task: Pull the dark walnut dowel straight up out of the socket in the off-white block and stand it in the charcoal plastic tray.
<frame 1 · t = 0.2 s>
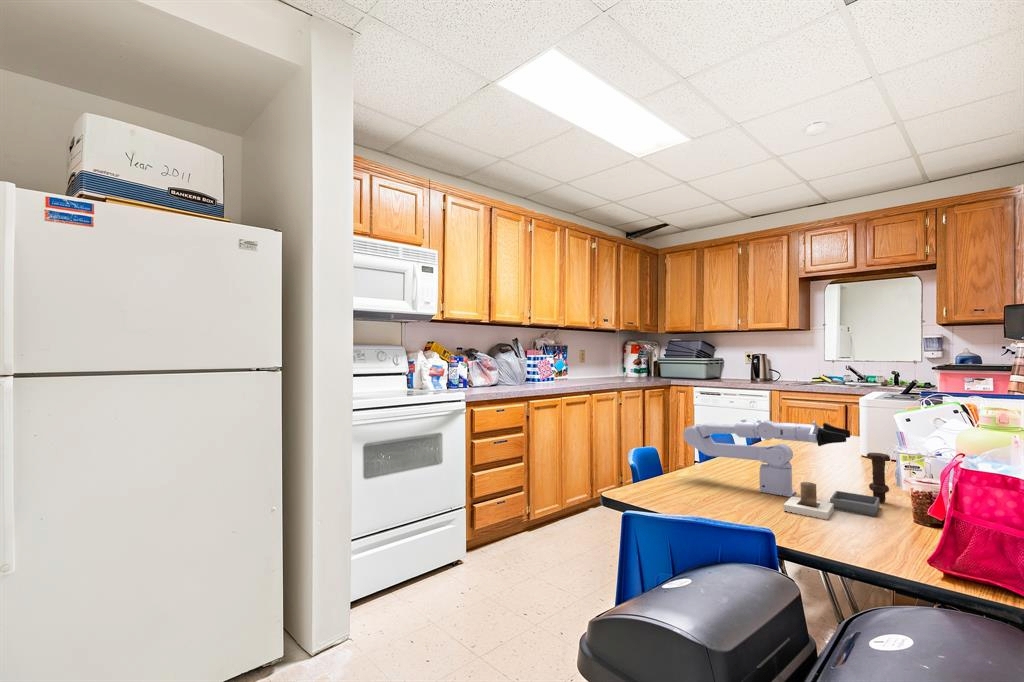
hand: (848, 436, 149), 21 cm above the table, tool horizontal, fingers open, 7 cm apart
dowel: (808, 497, 143), in the socket block
socket block: (808, 510, 143), on the table
tray: (855, 508, 145), on the table
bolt: (879, 502, 151), on the table
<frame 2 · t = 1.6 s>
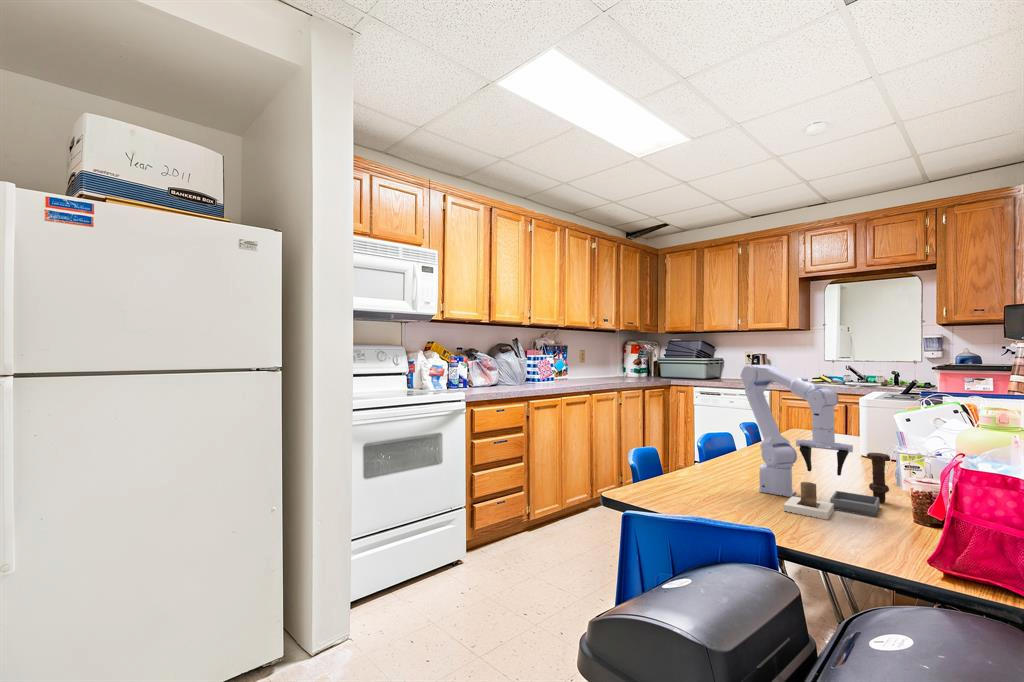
hand: (824, 472, 147), 10 cm above the table, tool pointing down, fingers open, 7 cm apart
nothing on the table moved.
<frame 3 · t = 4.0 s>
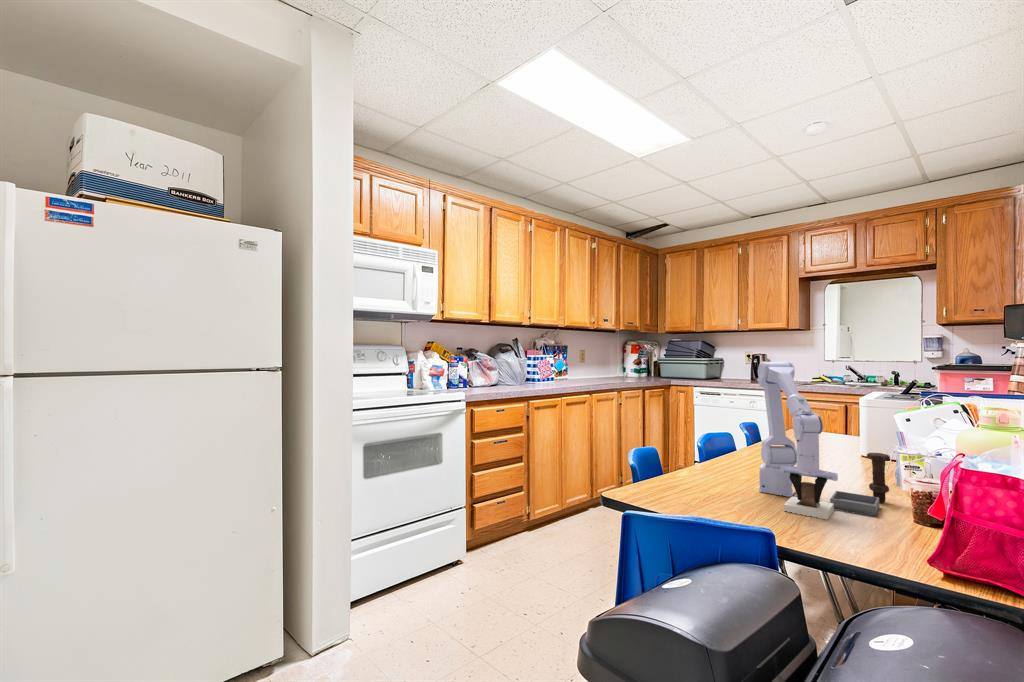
hand: (808, 500, 143), 3 cm above the table, tool pointing down, fingers closed on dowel, 4 cm apart
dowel: (808, 497, 143), in the socket block, touching gripper
everything else where it was.
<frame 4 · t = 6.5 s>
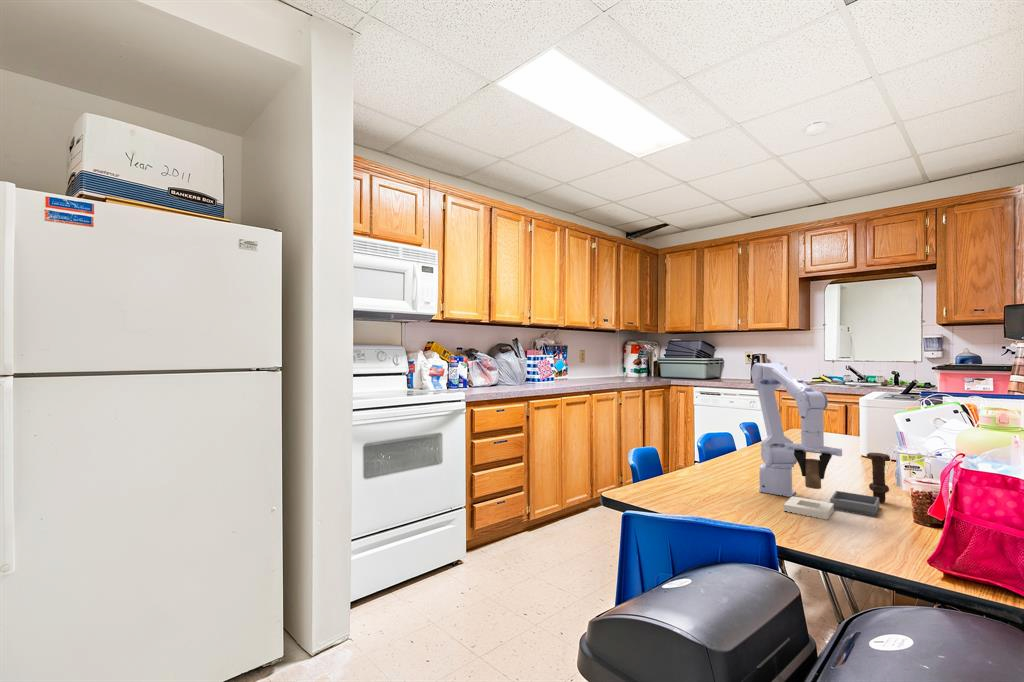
hand: (813, 477, 144), 10 cm above the table, tool pointing down, fingers closed on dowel, 4 cm apart
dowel: (812, 473, 144), point 11 cm above the table, touching gripper
everything else where it was.
when the fingers open (5 cm above the table, at t = 9.3 s): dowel stays where it is, resting on tray.
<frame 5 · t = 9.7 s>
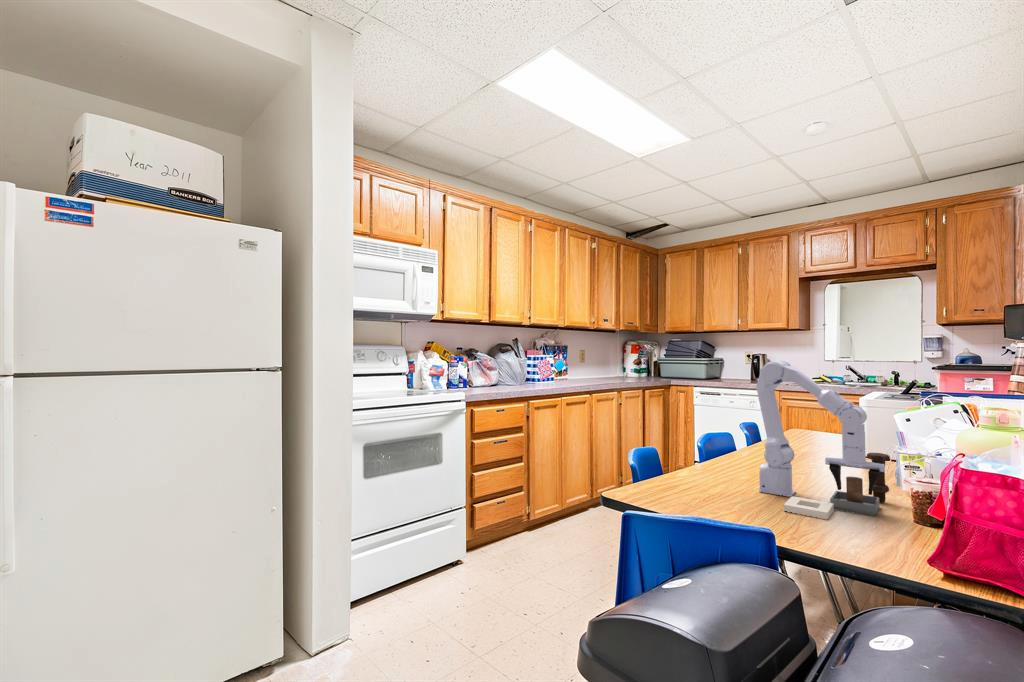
hand: (854, 491, 146), 5 cm above the table, tool pointing down, fingers open, 7 cm apart
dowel: (854, 491, 145), in the tray, point 5 cm above the table
everything else where it was.
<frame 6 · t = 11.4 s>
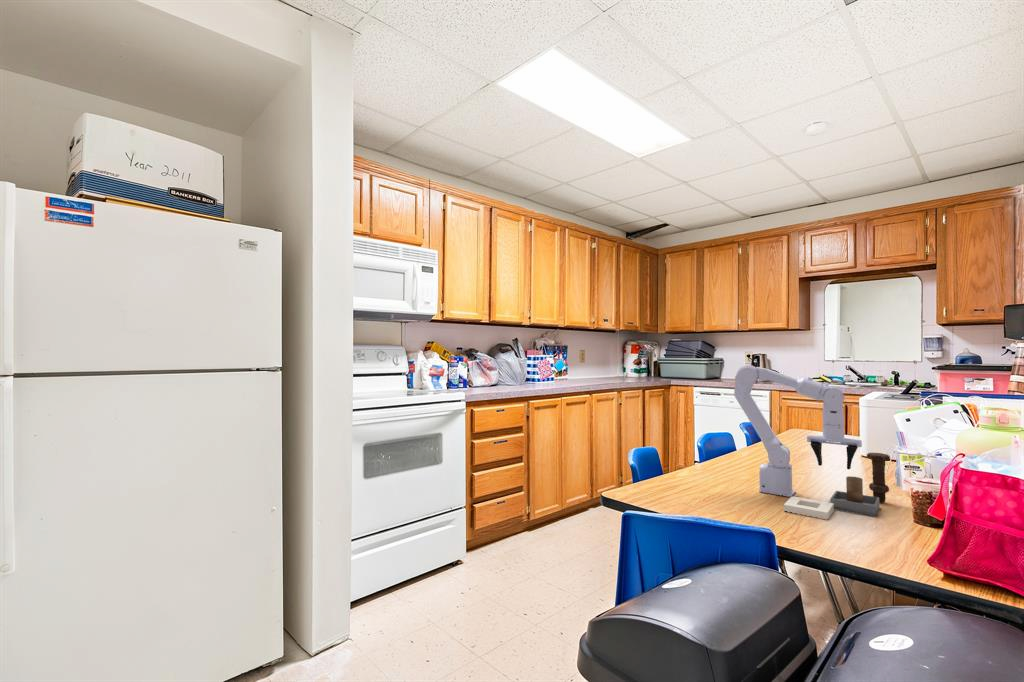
hand: (834, 466, 154), 10 cm above the table, tool pointing down, fingers open, 7 cm apart
nothing on the table moved.
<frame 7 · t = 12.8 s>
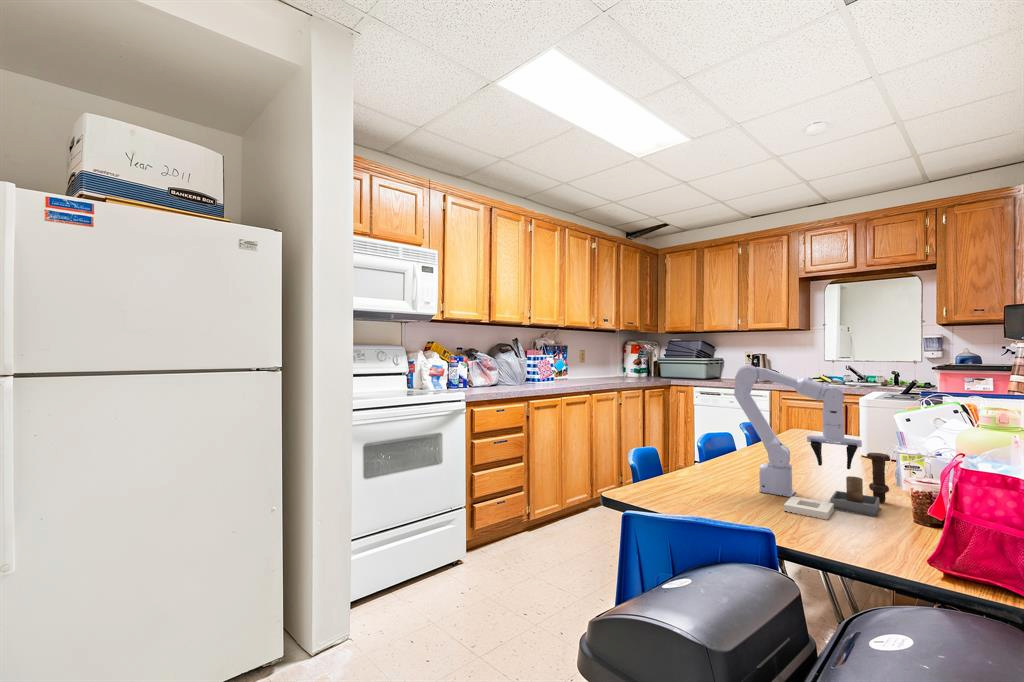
hand: (834, 466, 154), 10 cm above the table, tool pointing down, fingers open, 7 cm apart
nothing on the table moved.
at the end: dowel 0.2 cm off-centre on the tray, point 5.0 cm above the tray's base; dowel tilted 1°; the gripper is holding nothing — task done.
